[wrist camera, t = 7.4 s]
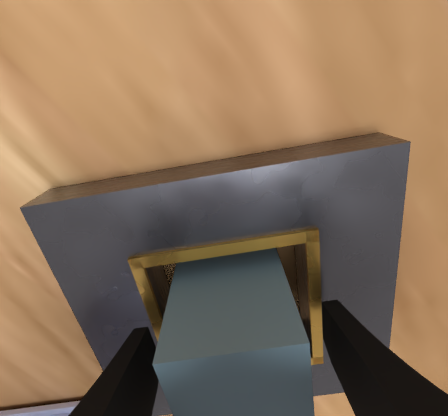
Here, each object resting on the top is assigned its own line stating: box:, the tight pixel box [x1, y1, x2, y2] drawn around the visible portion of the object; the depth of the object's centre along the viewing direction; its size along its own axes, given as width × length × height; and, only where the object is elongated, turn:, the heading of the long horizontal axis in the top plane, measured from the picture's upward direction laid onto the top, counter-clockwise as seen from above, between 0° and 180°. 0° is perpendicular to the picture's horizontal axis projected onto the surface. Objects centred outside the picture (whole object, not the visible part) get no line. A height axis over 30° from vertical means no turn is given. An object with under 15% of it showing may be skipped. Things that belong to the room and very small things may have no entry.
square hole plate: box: [20, 133, 410, 416], centre depth 13 cm, size 14×13×2 cm
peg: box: [152, 248, 314, 416], centre depth 11 cm, size 4×4×6 cm
